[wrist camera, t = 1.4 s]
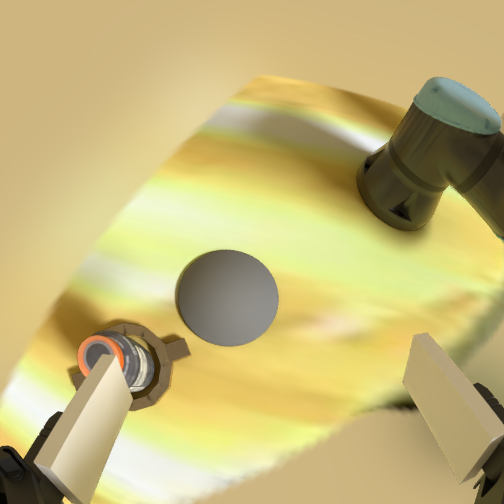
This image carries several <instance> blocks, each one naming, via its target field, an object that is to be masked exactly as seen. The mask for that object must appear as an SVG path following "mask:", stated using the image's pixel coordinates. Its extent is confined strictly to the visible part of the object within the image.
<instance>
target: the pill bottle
mask: <svg viewBox="0 0 504 504" xmlns="http://www.w3.org/2000/svg"><path fill="white" fill-rule="evenodd" d="M102 354H107V355H117V358H118V361H119V364H120V366H121V369H122V372H123V375H124V377H125V380H126V383H127V385H128V388H129V390H130V393H131V392H138V391H141V390H143V389H145V388H146V387H147V386H148V385H149V384H150V383H151V381H152V379H153V376H154V370H155V368H154V362H153V359H152V357H151V355H150V353H149V352H148V351H147V350H146V349H145V348H144V347H143V346H141V345H139V344H138V343H136V342H135V341H133V340H131V339H130V338H128V337H126V336H125V335H123V334H121V333H119V332H116V331H112V330H103V331H99V332H96V333H94V334H93V335H91V336H90V337H88V338H87V339H85V340H84V341H83V342H82V343H81V345H80V347H79V349H78V353H77V362H78V366H79V368H80V370H81V372H82V373H83V375H84V377H85V379H86V377H87V376H88V374H89V373H90V371H91V370H92V368H93V367H94V365H95V364H96V363H97V361H98V360H99V358H100V357H101V355H102Z"/></svg>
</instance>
